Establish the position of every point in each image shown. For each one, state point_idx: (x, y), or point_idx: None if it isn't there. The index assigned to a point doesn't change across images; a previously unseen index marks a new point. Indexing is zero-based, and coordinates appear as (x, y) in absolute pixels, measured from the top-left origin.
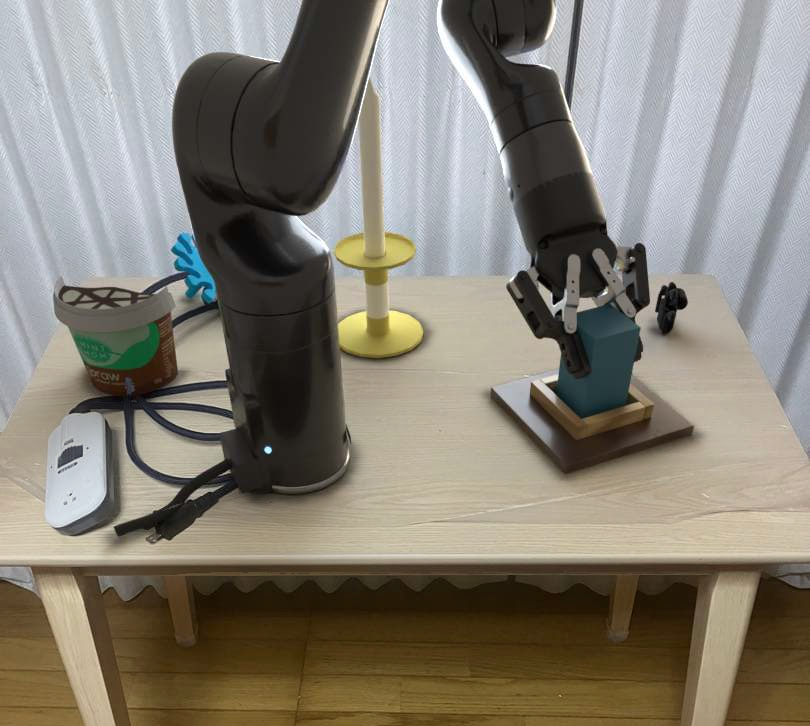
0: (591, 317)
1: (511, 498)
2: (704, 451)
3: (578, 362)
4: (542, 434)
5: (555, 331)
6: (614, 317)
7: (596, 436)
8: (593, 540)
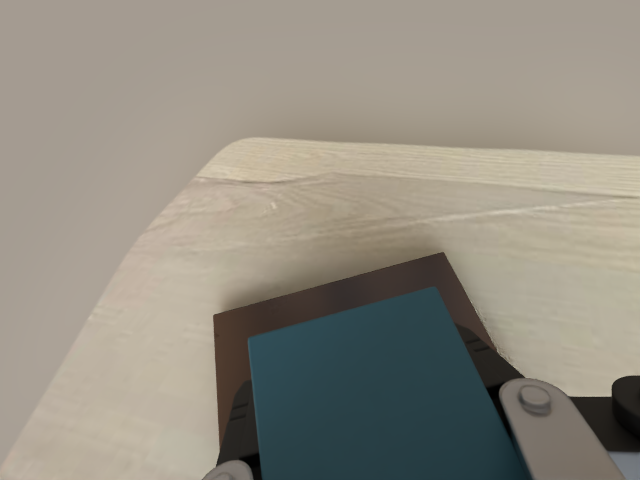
0: (422, 472)
1: (522, 225)
2: (226, 279)
3: None
4: (478, 336)
5: (598, 404)
6: (313, 446)
7: None
8: (422, 159)
